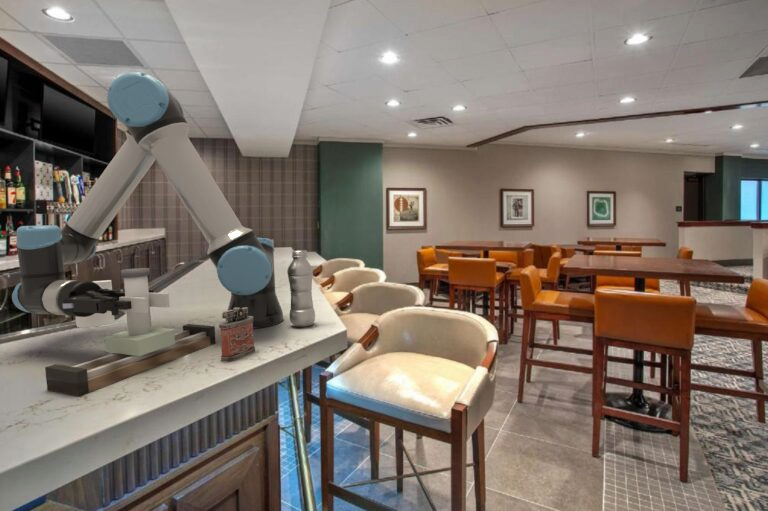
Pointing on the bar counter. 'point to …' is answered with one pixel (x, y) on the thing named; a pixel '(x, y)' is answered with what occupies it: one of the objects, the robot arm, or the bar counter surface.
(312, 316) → the plastic bottle
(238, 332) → the lighter
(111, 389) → the bar counter surface
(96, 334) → the bar counter surface
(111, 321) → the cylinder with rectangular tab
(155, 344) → the carriage
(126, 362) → the rail track
